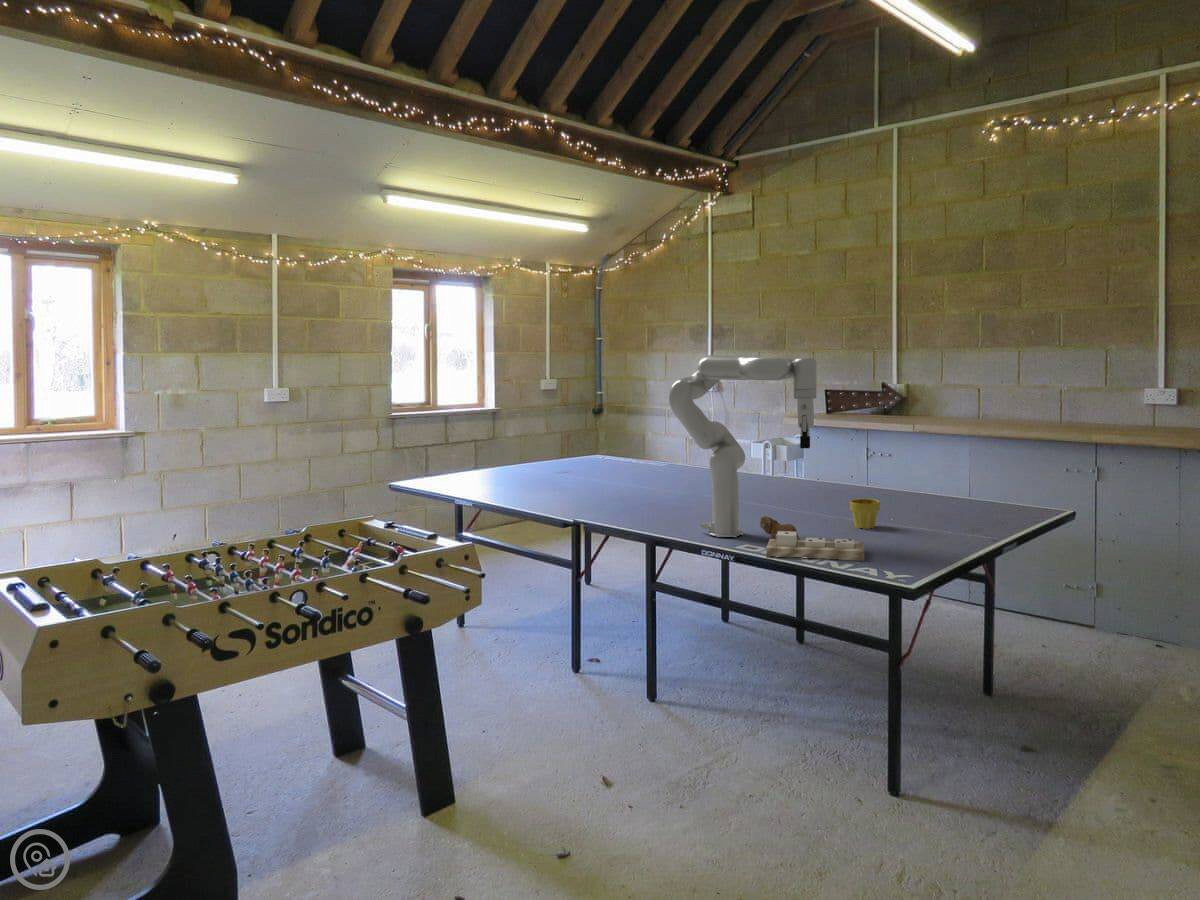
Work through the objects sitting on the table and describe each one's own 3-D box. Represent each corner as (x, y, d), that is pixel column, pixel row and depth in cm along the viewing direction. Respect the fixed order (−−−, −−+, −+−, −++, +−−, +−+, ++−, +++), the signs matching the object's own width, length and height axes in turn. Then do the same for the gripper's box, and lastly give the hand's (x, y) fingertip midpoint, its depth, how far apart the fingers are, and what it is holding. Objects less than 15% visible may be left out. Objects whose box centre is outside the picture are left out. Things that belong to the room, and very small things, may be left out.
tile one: (776, 547, 279) (776, 534, 278) (778, 543, 285) (778, 530, 284) (795, 547, 277) (795, 535, 277) (796, 543, 283) (796, 531, 283)
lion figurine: (758, 543, 296) (758, 517, 295) (761, 540, 301) (761, 514, 300) (802, 545, 291) (802, 519, 289) (804, 542, 295) (804, 516, 294)
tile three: (834, 555, 274) (834, 542, 274) (834, 550, 280) (834, 538, 279) (854, 556, 273) (854, 543, 272) (854, 551, 278) (854, 538, 278)
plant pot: (857, 531, 310) (857, 504, 309) (845, 525, 320) (845, 499, 319) (884, 529, 311) (884, 502, 310) (871, 523, 321) (872, 497, 320)
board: (766, 557, 277) (766, 547, 276) (769, 547, 289) (769, 538, 289) (864, 560, 269) (864, 551, 268) (863, 550, 281) (863, 541, 281)
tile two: (805, 553, 277) (805, 541, 276) (806, 549, 282) (806, 536, 282) (824, 554, 275) (824, 541, 275) (825, 550, 281) (825, 537, 280)
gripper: (815, 395, 284) (815, 450, 286) (817, 392, 298) (817, 445, 300) (792, 395, 286) (792, 450, 288) (794, 392, 300) (795, 445, 302)
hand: (805, 447), depth 294 cm, fingers closed
